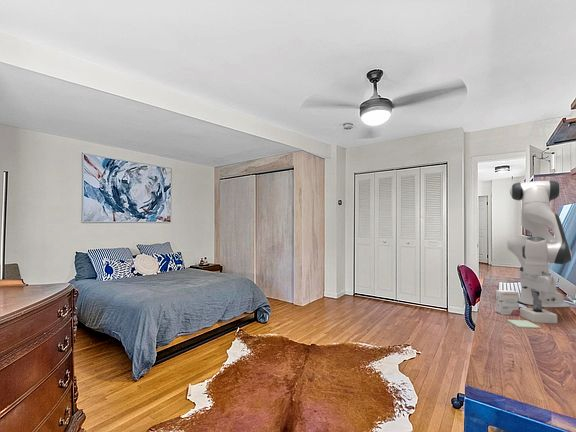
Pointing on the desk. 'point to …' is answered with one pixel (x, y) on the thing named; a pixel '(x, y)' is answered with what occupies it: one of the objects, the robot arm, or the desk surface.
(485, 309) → the desk surface
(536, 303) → the plug
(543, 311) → the white square frame block
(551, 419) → the desk surface
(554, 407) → the desk surface
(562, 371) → the desk surface
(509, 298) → the ink box
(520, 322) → the mat
